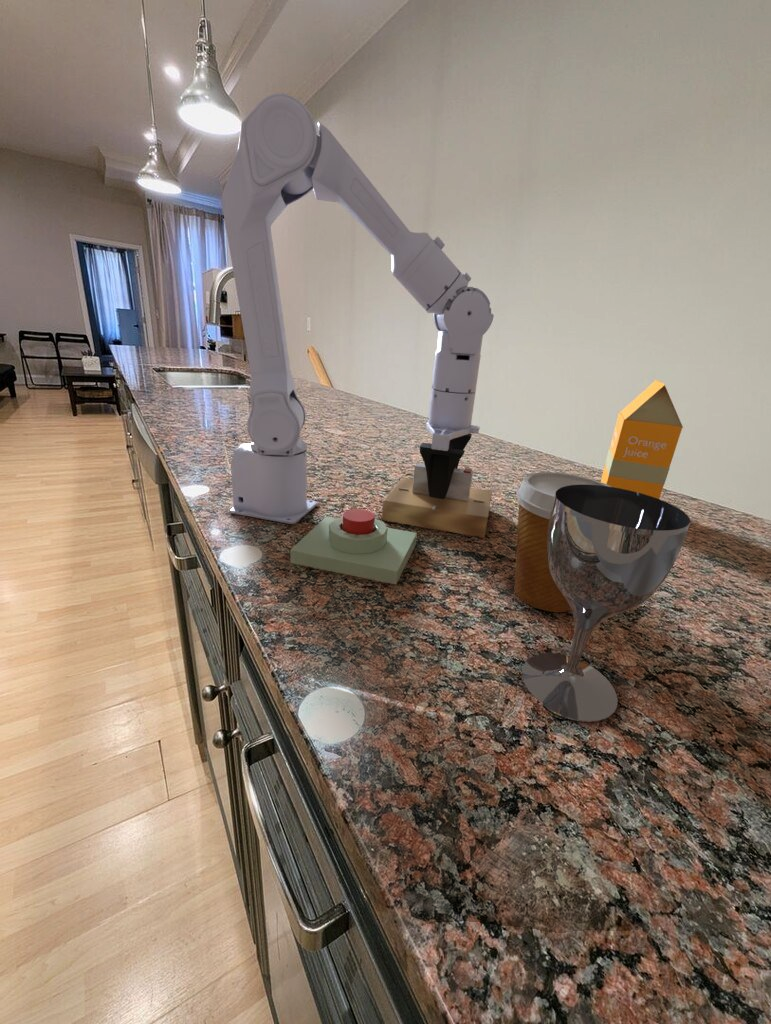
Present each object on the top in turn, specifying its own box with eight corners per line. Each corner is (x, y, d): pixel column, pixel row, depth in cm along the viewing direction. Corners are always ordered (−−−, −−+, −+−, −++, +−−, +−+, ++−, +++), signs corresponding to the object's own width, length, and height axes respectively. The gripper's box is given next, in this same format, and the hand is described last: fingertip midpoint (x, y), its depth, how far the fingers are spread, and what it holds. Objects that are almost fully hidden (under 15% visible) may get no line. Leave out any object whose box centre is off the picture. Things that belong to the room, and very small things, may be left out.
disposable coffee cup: (604, 630, 41) (641, 511, 37) (499, 612, 43) (522, 496, 38) (583, 579, 50) (611, 477, 45) (496, 566, 52) (515, 466, 47)
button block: (290, 563, 49) (289, 534, 47) (325, 528, 58) (326, 503, 56) (396, 585, 46) (398, 555, 45) (415, 545, 55) (418, 519, 54)
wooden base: (380, 522, 61) (381, 500, 60) (401, 494, 72) (402, 475, 71) (483, 540, 58) (487, 517, 57) (489, 507, 69) (492, 488, 68)
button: (337, 532, 50) (338, 518, 49) (348, 520, 53) (349, 507, 52) (368, 538, 49) (369, 523, 48) (377, 525, 52) (378, 512, 51)
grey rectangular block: (411, 492, 64) (414, 464, 62) (414, 488, 65) (417, 460, 64) (468, 501, 62) (472, 472, 60) (469, 497, 64) (473, 468, 62)
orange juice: (597, 511, 70) (633, 380, 63) (596, 495, 78) (627, 376, 70) (653, 522, 68) (697, 387, 60) (645, 503, 75) (684, 381, 68)
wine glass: (501, 650, 38) (536, 482, 32) (590, 650, 39) (639, 486, 33) (538, 728, 30) (592, 528, 25) (647, 725, 31) (723, 532, 26)
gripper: (480, 400, 51) (464, 510, 56) (487, 387, 64) (474, 478, 69) (419, 394, 52) (409, 502, 57) (439, 382, 65) (429, 471, 70)
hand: (441, 488), depth 63 cm, fingers open, 7 cm apart
